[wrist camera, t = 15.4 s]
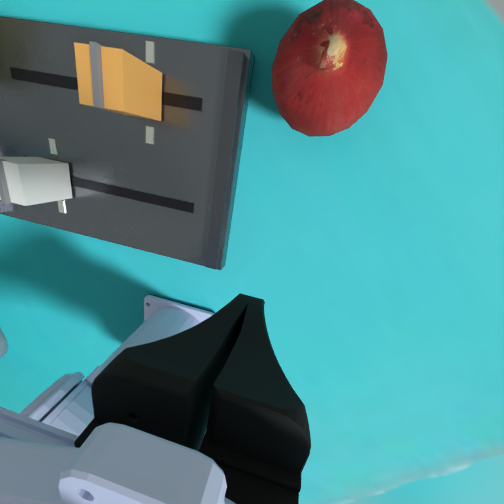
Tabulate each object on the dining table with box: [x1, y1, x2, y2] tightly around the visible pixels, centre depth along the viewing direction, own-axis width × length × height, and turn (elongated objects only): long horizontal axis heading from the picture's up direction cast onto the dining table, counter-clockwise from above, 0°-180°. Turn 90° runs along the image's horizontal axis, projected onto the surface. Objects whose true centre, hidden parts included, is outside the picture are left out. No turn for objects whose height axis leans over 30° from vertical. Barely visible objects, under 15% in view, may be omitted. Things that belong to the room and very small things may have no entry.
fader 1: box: [0, 157, 72, 206], centre depth 20 cm, size 3×3×4 cm
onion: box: [272, 0, 387, 136], centre depth 13 cm, size 6×6×8 cm
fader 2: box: [74, 41, 162, 121], centre depth 16 cm, size 3×3×4 cm
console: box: [0, 17, 254, 270], centre depth 20 cm, size 16×24×2 cm, turn 80°
